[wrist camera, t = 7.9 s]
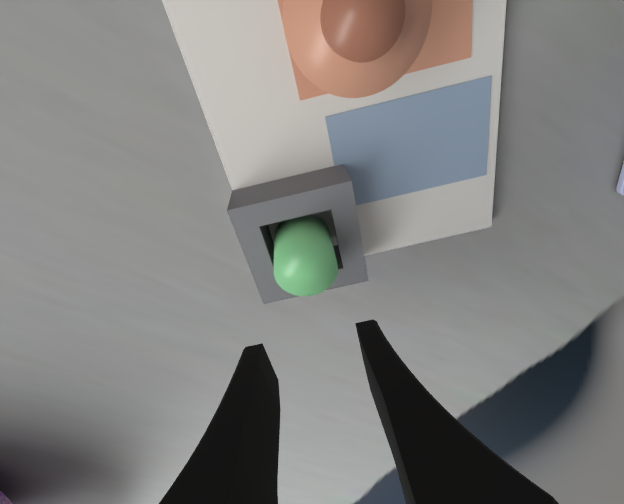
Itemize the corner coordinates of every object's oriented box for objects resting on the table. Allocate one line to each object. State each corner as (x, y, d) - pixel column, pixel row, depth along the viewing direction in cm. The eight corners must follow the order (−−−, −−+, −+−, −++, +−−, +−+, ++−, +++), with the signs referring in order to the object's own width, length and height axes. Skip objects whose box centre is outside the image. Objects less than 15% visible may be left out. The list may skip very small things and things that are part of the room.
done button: (324, 207, 18) (331, 237, 16) (334, 254, 20) (342, 288, 17) (267, 220, 18) (265, 252, 16) (282, 266, 20) (283, 301, 18)
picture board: (507, -150, 13) (561, -190, 11) (486, 222, 22) (513, 248, 19) (147, -48, 14) (119, -64, 11) (265, 272, 23) (263, 303, 20)
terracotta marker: (373, -49, 14) (447, -117, 8) (382, 64, 16) (446, 86, 10) (273, -26, 14) (263, -72, 8) (295, 84, 16) (300, 118, 10)
